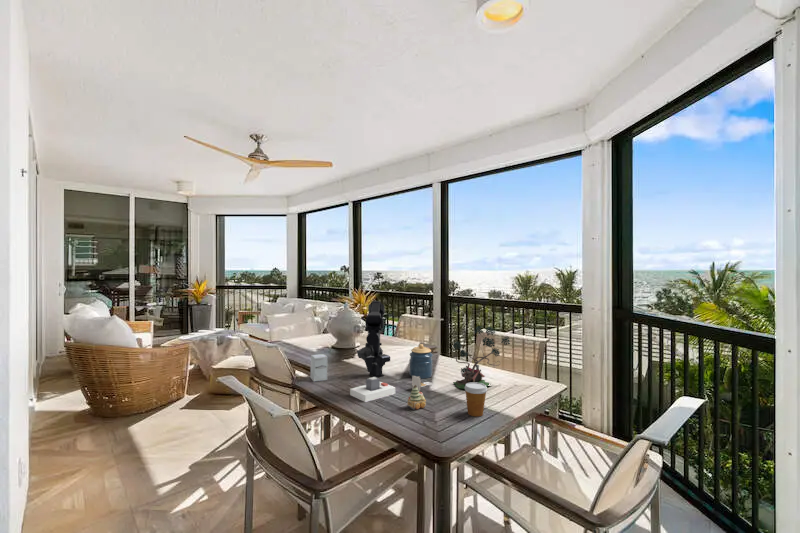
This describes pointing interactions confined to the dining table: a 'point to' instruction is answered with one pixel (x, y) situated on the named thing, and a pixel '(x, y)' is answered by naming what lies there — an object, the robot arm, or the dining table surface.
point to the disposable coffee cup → (475, 398)
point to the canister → (421, 362)
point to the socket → (372, 392)
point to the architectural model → (417, 382)
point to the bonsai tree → (473, 374)
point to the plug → (372, 384)
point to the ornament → (416, 399)
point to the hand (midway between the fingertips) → (373, 373)
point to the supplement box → (318, 367)
